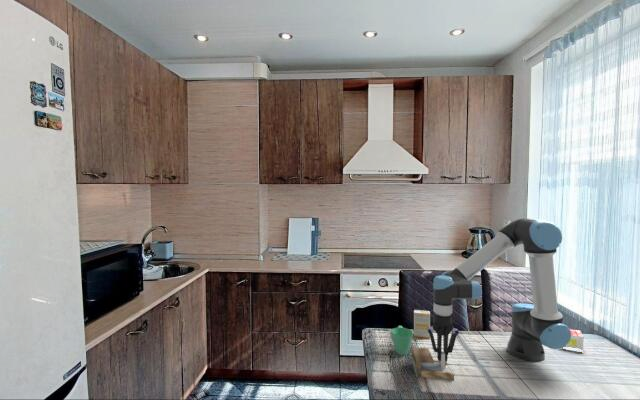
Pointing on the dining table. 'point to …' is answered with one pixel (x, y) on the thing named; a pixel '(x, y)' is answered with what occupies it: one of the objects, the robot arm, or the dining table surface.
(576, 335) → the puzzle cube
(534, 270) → the robot arm
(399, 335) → the green pitcher
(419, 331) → the supplement box
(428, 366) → the tile
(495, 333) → the dining table surface
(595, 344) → the dining table surface
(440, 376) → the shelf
